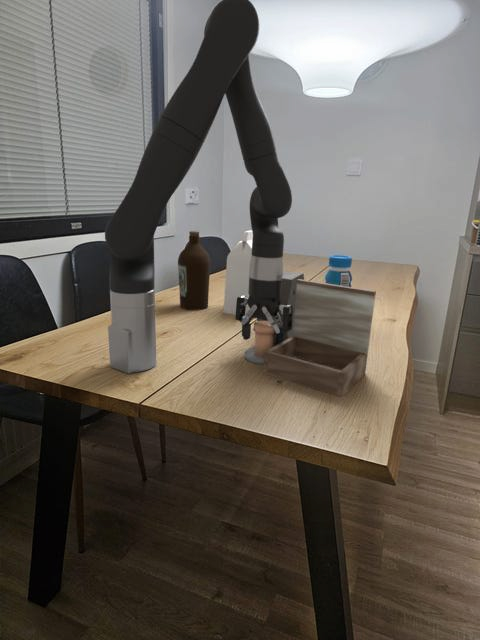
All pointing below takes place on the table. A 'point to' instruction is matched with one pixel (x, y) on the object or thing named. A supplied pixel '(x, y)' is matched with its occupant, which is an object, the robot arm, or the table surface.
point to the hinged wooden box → (325, 338)
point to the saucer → (253, 356)
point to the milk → (238, 273)
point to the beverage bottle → (339, 270)
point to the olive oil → (194, 275)
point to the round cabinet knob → (263, 337)
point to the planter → (288, 296)
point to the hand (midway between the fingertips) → (261, 342)
